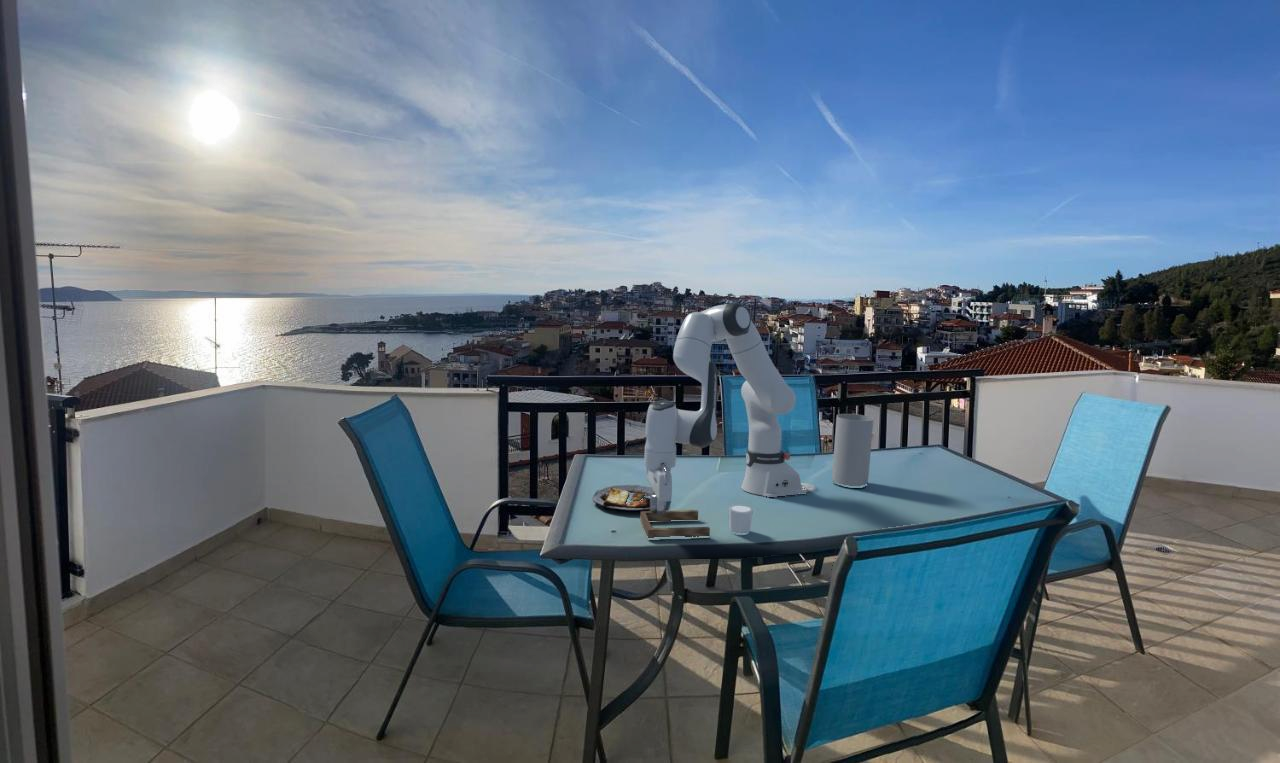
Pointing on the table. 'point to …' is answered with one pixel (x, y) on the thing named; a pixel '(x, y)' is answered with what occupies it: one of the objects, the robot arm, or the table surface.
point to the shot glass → (740, 518)
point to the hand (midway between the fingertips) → (658, 506)
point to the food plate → (623, 497)
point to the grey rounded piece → (655, 505)
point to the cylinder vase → (852, 449)
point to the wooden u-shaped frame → (668, 532)
